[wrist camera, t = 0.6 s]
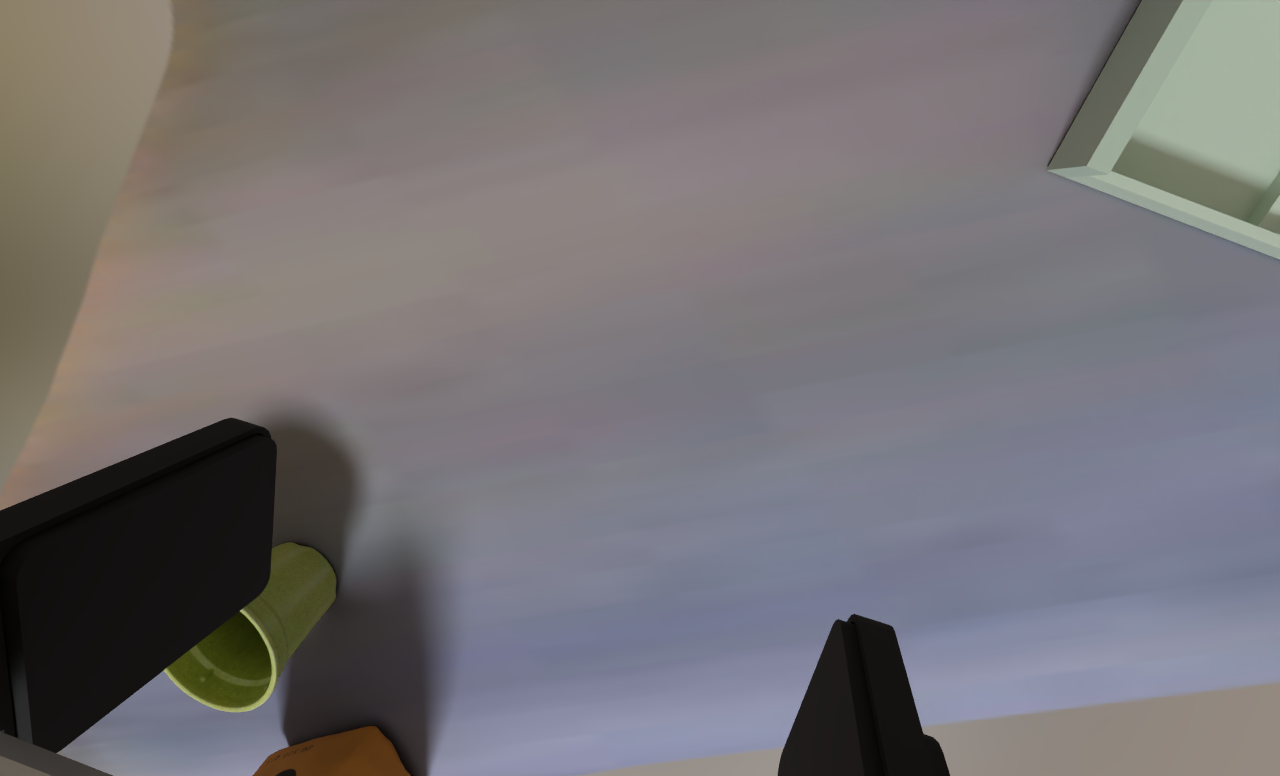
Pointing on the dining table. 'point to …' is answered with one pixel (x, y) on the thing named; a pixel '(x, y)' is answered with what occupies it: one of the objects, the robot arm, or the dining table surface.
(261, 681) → the plant pot
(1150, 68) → the tray
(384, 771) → the coffee package
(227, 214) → the dining table surface
